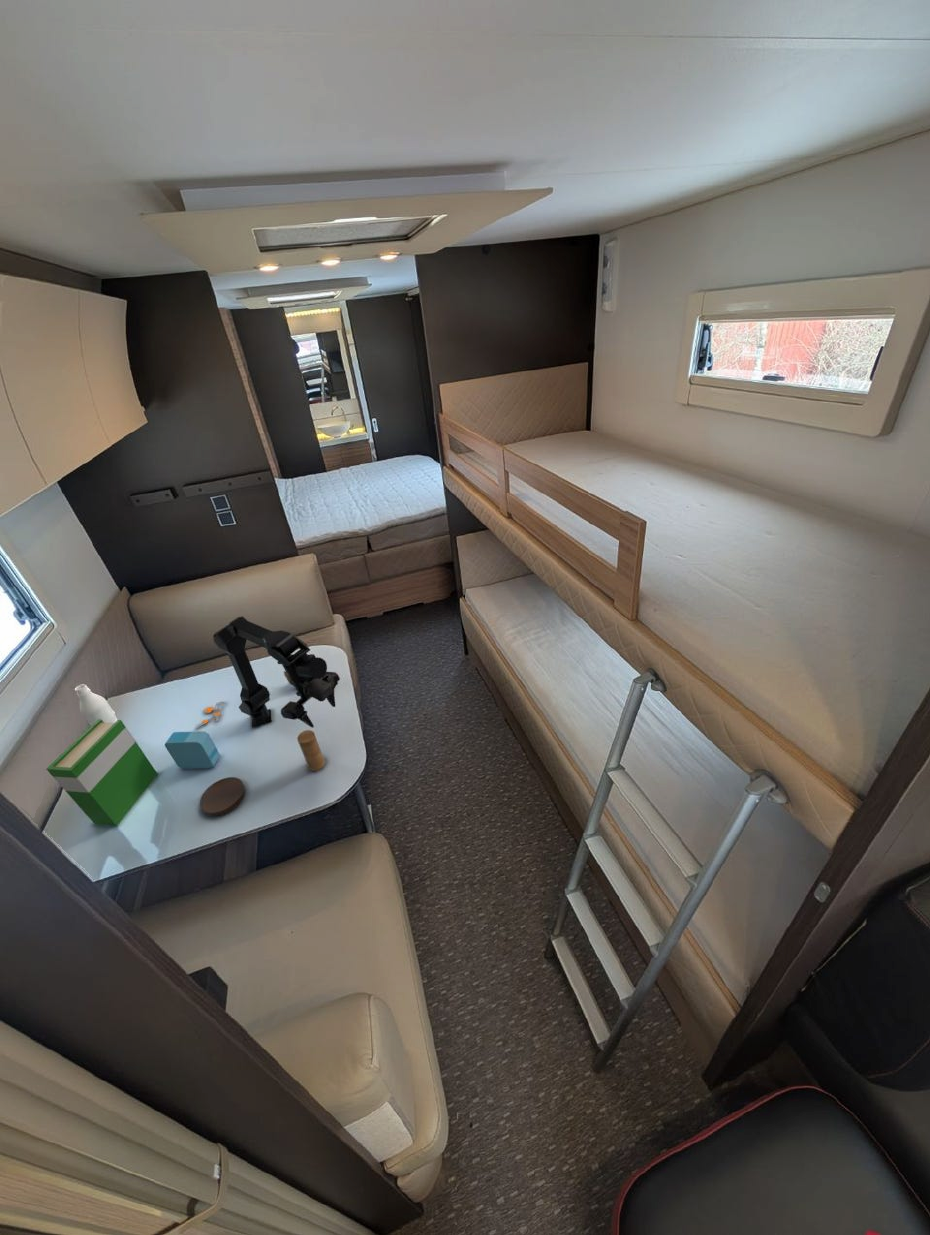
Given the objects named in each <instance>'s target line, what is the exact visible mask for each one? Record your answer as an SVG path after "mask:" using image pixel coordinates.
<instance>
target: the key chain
mask: <svg viewBox="0 0 930 1235" xmlns="http://www.w3.org/2000/svg"><path fill="white" fill-rule="evenodd" d="M218 704H222V705H221V706H220V707H217V705H218ZM225 705H226V702H225V701H219V702H216V703H215V705H214V706H209V707H206V708H205V709H204V713H205V714H211V713H212V717H211V718H209V719H204V720H203V721H201V723H200V724H198V725H197V726H195V730H197V729H199V728H200V727H201V726H203V725H206V724H207V723H208V722H209V721H210V720H213V719H214V718H215V723H218V721H219V719H220V716H221V710H222V708H223V707H224V706H225ZM216 707H217V708H216Z"/></svg>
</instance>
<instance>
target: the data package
mask: <svg viewBox="0 0 930 1235" xmlns="http://www.w3.org/2000/svg"><path fill="white" fill-rule="evenodd" d="M164 748H165V749H166V750H167V752H168V753H169V755H170V756H171V758H172V760H173V761H174V763H175V764H176V766H177V767H178V768H179V769H183V770H185V769H187V770H188V769H212V768H214V767H215V765H216V763H217V762H218V760H219V758H220V756H221V754H220V752H219V750H218V748H217V746H216V744H215V742H214V741H213V739H212V737H211V735H210V734H209V733H208V732H207V731H204V730H200V731H198V730H197V731H174V732H172V733H171V735H170V736H169V737H168V739H167V740H166V742H165V743H164Z"/></svg>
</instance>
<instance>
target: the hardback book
mask: <svg viewBox="0 0 930 1235" xmlns="http://www.w3.org/2000/svg"><path fill="white" fill-rule="evenodd" d="M46 771H47V773H49V774H50V775H51V777H52V778H53V779H54V780H55V781H56V782H57V783H58V784H59V785H60V787H61V789H63V790H64V791H65V792H66V794H68V796H69V797H70V798H71V800H72V801H74V803H75V804H76V805H77V806H78V807H79V808H80V809H81V811H82V812H83V813H84V814H85V816H87V817H88V819H89V820H90V821H91V822H92V823H93V824H94V825H99V826H100V825H101V826H102V825H103V826H113V827H117V826H118V825H119V824H120V823H121V822H122V820H123V819H124V818H125V816H126V815H128V813H129V812H130V810H131V809H132V808H133V807H134V806H135V804H136V803H137V802H138V800H140V798H141V796H142V795H143V794H144V793H145V791H147V789H148V788H149V787H150V785H151V784H152V783H153V781H154V780H156V778H157V777H158V776H159V773H158V772H157V771H156V769H155V767H154V766H153V765H152V763H151V762H150V760H149V758H147V756H146V754H145V753H144V751H143V750H142V748H141V747H140V746H139V744H138V743H137V741H136V740H135V739H134V737H133V736H132V734H131V732H130V731H129V730H128V728H127V727H126V725H125V723H124V722H123V721H122V719H117V721H116V722H115V723H104V722H103V721H102V719H98V720H97V721H96V722H95V723H94V724H93V725H92V726H91V725H90V726H89V727H88V728H87V729H86V730H85V731H84V732H83V733H82V734H81V735H80V736H79V737H77V739H76V740H75V741H74V742H72V743H71V744H70V746H68V747H67V749H65V750H64V751H63V752H62V753H61V754H60V755H59V756H58V757H57V758H56V759H55V760H54V761H53V762H52V763H51V764H50V765H49V766H48V767H47V768H46Z"/></svg>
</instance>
